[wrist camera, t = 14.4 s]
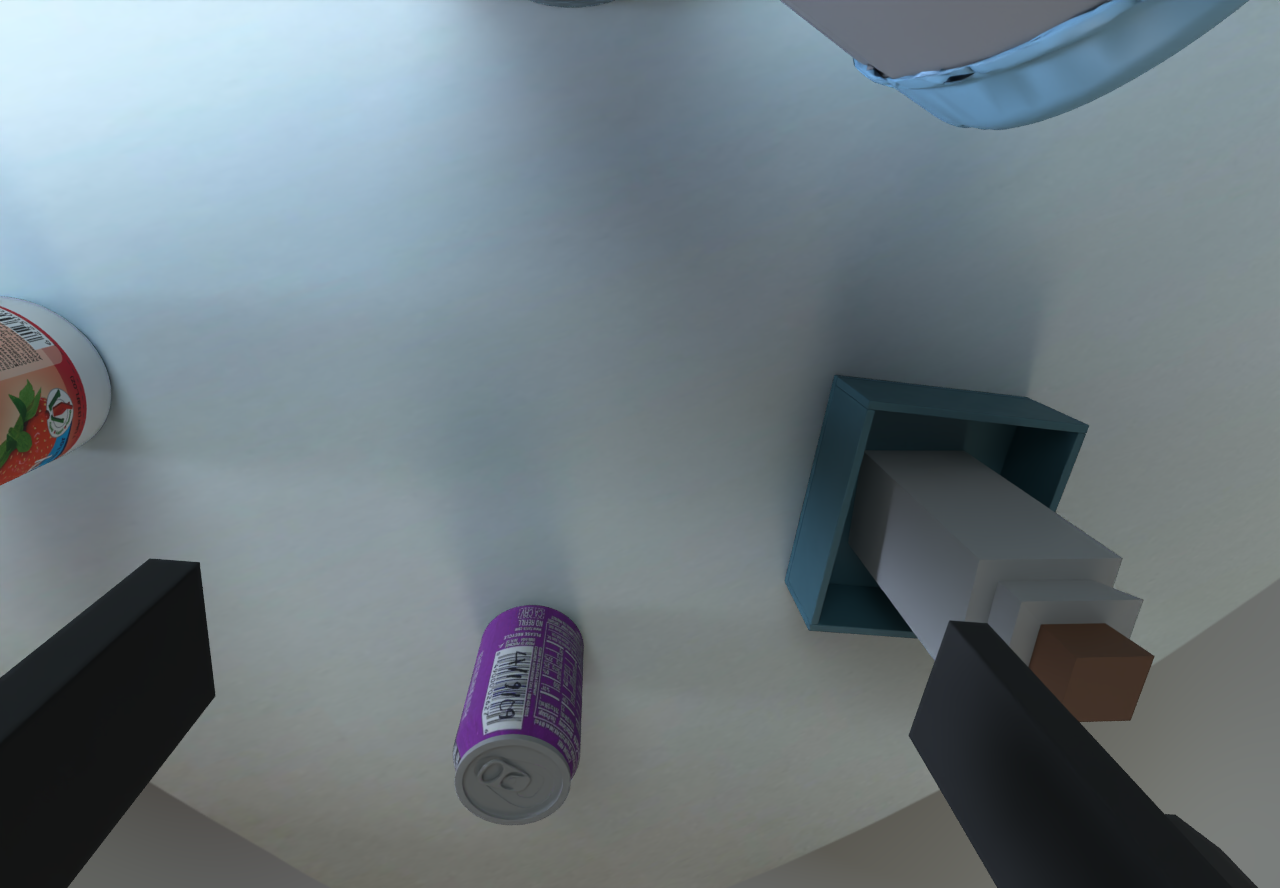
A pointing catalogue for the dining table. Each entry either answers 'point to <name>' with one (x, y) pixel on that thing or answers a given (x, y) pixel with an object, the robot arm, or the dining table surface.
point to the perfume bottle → (999, 574)
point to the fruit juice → (46, 387)
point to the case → (909, 421)
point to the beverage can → (521, 717)
